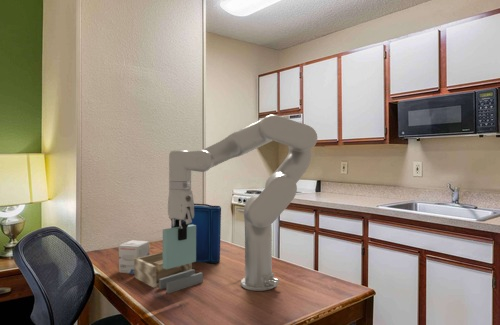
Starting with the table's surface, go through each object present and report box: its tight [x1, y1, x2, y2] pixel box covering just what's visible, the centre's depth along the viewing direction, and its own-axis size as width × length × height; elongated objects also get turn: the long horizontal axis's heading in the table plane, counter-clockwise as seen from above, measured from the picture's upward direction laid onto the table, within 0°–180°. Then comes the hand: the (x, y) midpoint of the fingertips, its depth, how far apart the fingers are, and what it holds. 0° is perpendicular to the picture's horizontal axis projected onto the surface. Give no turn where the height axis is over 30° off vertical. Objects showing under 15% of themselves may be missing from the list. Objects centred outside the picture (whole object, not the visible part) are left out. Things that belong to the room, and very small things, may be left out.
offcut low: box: [156, 266, 182, 283], centre depth 123 cm, size 4×10×4 cm, turn 135°
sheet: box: [162, 224, 197, 269], centre depth 116 cm, size 2×12×13 cm, turn 135°
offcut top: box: [153, 260, 177, 273], centre depth 123 cm, size 4×8×3 cm, turn 139°
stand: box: [158, 268, 204, 295], centre depth 117 cm, size 9×15×4 cm, turn 135°
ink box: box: [118, 239, 150, 275], centre depth 133 cm, size 9×8×12 cm
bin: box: [134, 251, 193, 289], centre depth 125 cm, size 14×16×8 cm
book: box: [170, 203, 222, 264], centre depth 145 cm, size 22×7×25 cm, turn 84°
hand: (179, 238), depth 116 cm, fingers closed on sheet, 2 cm apart
